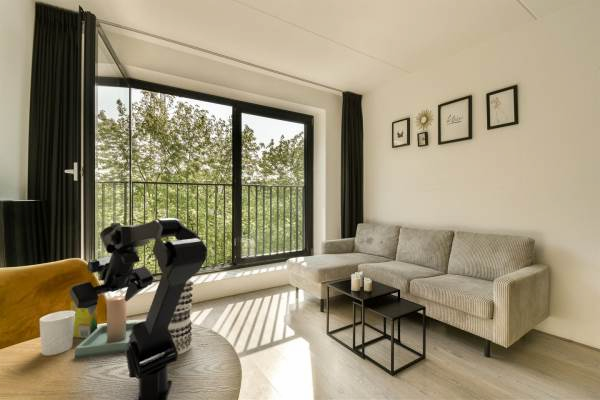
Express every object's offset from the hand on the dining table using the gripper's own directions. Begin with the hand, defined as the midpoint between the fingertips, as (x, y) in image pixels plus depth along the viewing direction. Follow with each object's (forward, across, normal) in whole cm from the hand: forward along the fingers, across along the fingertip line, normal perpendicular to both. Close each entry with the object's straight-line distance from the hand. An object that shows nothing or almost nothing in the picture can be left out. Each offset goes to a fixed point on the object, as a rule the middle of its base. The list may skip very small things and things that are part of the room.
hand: (108, 306), depth 77 cm
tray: (+15, -4, +3) cm, 16 cm away
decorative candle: (+5, -11, +20) cm, 23 cm away
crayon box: (+23, -1, -9) cm, 24 cm away
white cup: (+20, +7, -6) cm, 22 cm away
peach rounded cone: (+14, -4, +2) cm, 15 cm away
